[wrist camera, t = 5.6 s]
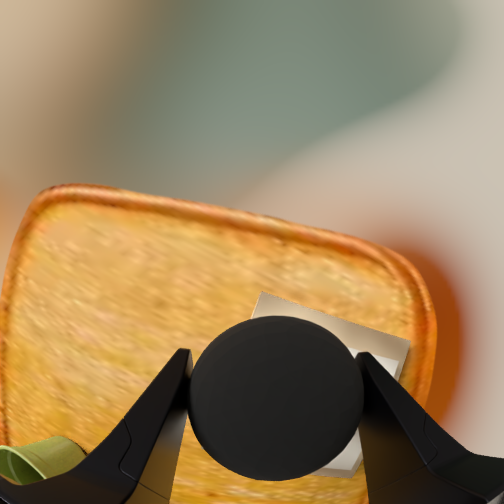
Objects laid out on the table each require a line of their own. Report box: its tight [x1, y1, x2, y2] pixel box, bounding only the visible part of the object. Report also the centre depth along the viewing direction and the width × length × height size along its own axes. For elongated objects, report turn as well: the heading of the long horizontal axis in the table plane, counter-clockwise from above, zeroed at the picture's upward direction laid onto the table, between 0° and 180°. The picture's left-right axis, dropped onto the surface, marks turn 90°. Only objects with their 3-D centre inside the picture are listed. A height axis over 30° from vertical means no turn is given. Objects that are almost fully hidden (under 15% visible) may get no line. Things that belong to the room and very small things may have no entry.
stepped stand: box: [201, 291, 411, 478], centre depth 19 cm, size 14×14×4 cm
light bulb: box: [187, 315, 364, 481], centre depth 10 cm, size 6×6×10 cm
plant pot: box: [0, 436, 86, 485], centre depth 13 cm, size 9×9×9 cm
